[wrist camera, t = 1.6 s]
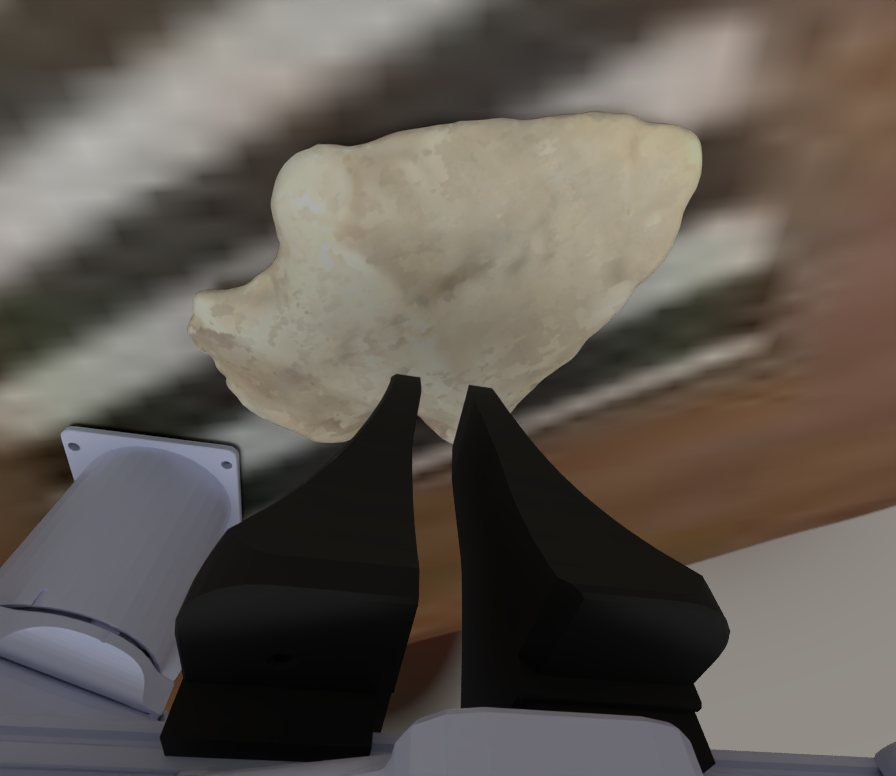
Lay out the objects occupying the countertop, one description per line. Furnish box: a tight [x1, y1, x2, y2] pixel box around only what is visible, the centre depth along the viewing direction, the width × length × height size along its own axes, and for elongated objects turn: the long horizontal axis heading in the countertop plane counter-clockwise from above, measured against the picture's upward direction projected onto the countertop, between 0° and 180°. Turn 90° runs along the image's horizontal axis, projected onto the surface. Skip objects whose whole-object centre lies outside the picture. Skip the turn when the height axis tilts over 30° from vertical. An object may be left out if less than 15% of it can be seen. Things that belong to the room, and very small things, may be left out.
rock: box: [187, 112, 702, 444], centre depth 19 cm, size 4×13×20 cm
